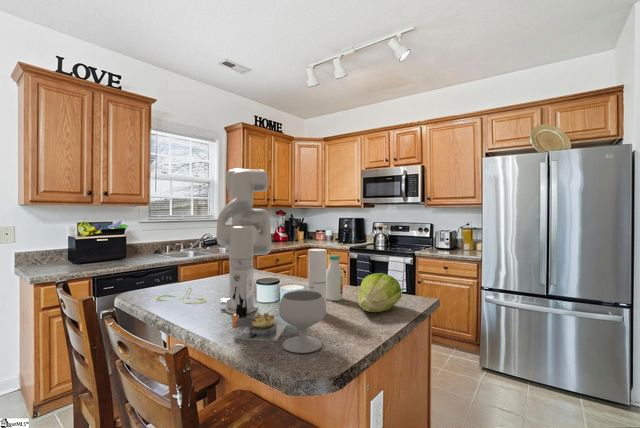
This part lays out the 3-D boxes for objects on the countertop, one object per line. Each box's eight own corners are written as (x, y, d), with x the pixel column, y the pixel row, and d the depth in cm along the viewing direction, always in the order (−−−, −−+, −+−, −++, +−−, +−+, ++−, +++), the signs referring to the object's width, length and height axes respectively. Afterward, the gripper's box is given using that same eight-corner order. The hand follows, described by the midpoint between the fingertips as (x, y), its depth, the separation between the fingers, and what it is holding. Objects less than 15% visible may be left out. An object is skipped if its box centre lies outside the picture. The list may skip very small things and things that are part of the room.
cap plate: (235, 339, 100) (235, 332, 100) (250, 324, 113) (250, 318, 113) (276, 341, 98) (276, 334, 98) (286, 326, 111) (286, 320, 111)
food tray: (272, 320, 110) (272, 308, 110) (275, 327, 103) (275, 315, 103) (232, 323, 107) (232, 311, 107) (232, 331, 99) (232, 318, 99)
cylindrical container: (324, 316, 122) (324, 251, 122) (306, 315, 124) (306, 250, 124) (327, 311, 129) (327, 249, 129) (310, 309, 131) (310, 248, 131)
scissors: (152, 300, 145) (152, 290, 145) (168, 295, 154) (168, 285, 154) (198, 305, 137) (198, 294, 137) (212, 300, 147) (212, 289, 147)
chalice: (335, 348, 94) (335, 296, 94) (294, 360, 86) (294, 304, 86) (309, 333, 105) (309, 287, 105) (270, 343, 97) (270, 293, 97)
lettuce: (342, 316, 126) (345, 281, 123) (366, 295, 146) (370, 265, 144) (383, 331, 117) (388, 294, 115) (403, 306, 138) (407, 275, 135)
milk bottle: (337, 302, 143) (337, 257, 142) (322, 299, 147) (322, 255, 147) (345, 298, 149) (345, 255, 149) (331, 296, 153) (331, 254, 153)
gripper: (246, 267, 99) (246, 326, 99) (258, 260, 114) (258, 312, 114) (222, 266, 99) (222, 326, 99) (237, 260, 114) (237, 311, 114)
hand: (241, 318), depth 106 cm, fingers closed
